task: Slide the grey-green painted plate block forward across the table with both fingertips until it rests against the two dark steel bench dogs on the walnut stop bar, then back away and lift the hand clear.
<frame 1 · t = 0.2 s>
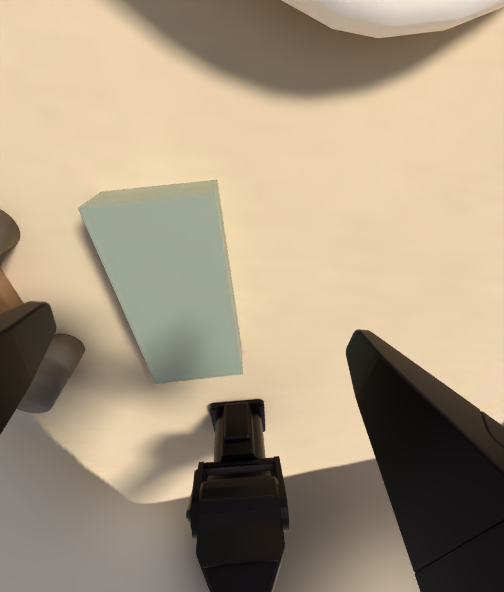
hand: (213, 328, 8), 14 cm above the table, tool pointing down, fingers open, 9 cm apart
bench dogs: (5, 297, 23), on the table
painted plate block: (185, 281, 24), on the table
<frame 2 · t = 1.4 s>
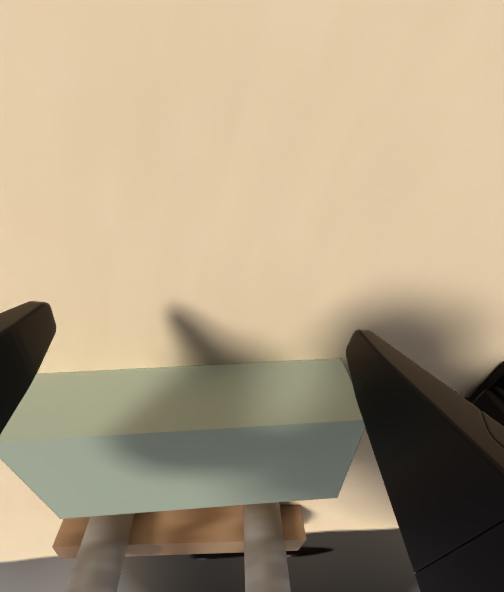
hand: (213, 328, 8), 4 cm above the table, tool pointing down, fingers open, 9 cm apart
bench dogs: (190, 511, 25), on the table
painted plate block: (201, 405, 17), on the table
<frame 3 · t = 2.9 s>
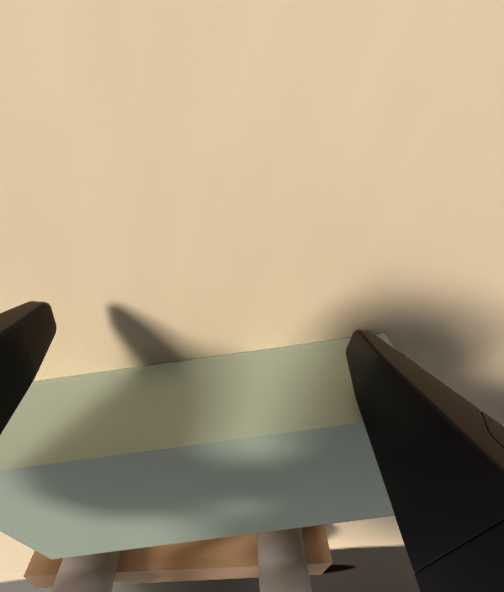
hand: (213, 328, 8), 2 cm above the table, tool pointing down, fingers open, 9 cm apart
bench dogs: (193, 528, 21), on the table
painted plate block: (208, 408, 14), on the table
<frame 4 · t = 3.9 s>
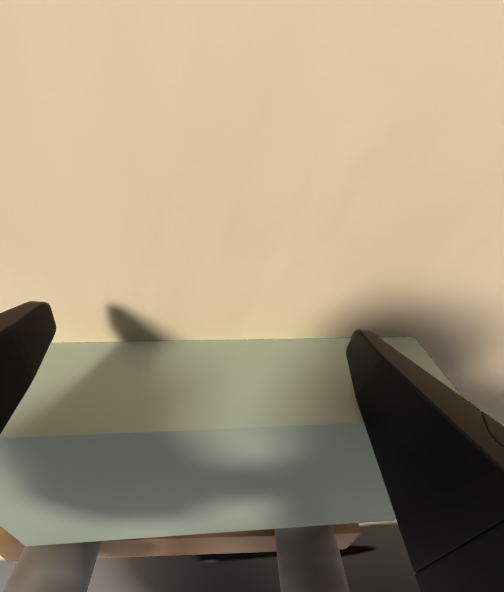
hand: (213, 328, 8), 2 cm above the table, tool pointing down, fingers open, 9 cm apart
bench dogs: (195, 494, 18), on the table
painted plate block: (219, 396, 13), on the table
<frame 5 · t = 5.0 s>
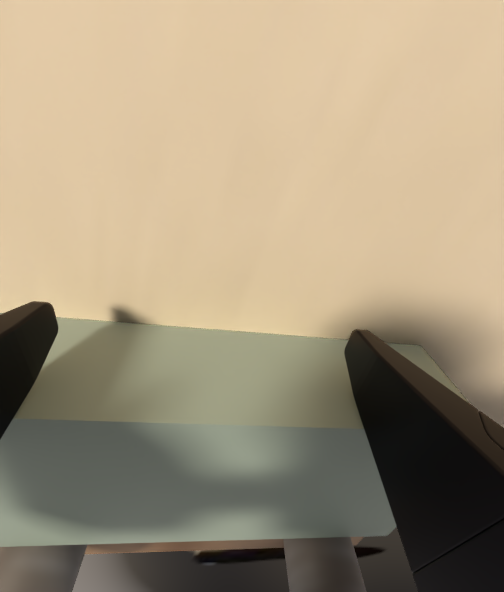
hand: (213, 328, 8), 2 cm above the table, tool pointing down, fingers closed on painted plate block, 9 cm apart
bench dogs: (195, 486, 17), on the table
painted plate block: (221, 396, 13), on the table, touching bench dogs, gripper
when the fingers open (2 cm above the table, at t = 5.3 s): painted plate block stays where it is, on the table.
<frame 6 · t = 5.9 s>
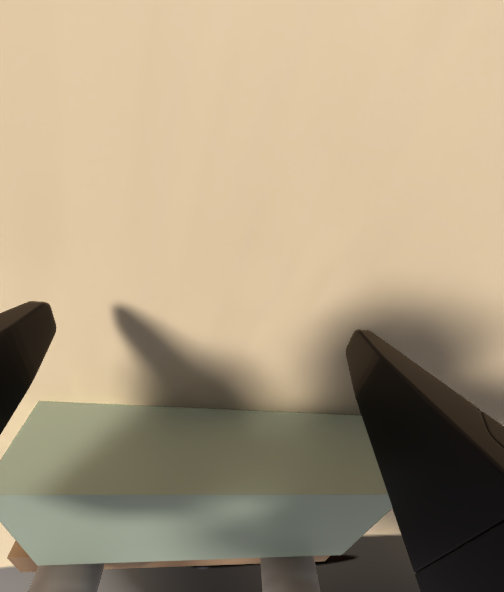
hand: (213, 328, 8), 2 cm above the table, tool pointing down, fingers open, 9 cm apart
bench dogs: (190, 511, 20), on the table
painted plate block: (212, 445, 16), on the table
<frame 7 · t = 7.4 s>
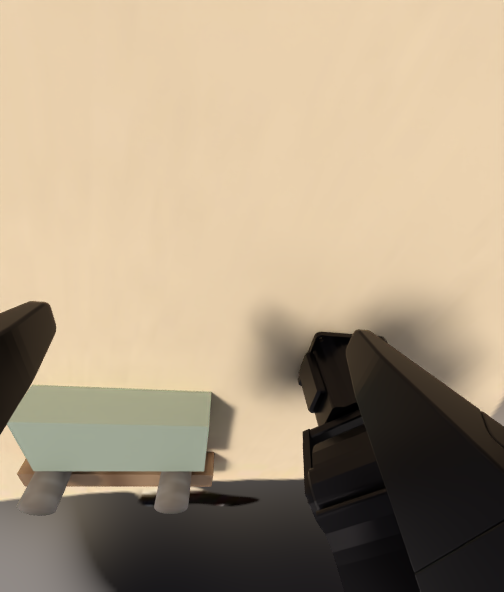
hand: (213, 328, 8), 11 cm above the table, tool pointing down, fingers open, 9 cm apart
bench dogs: (127, 455, 33), on the table
painted plate block: (130, 410, 29), on the table
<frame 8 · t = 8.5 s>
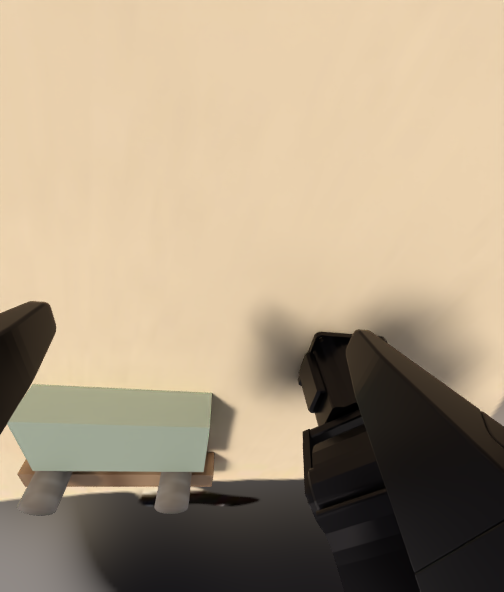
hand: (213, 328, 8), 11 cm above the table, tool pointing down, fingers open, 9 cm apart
bench dogs: (127, 455, 33), on the table
painted plate block: (130, 410, 29), on the table
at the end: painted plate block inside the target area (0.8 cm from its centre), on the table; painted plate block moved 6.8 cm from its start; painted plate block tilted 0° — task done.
